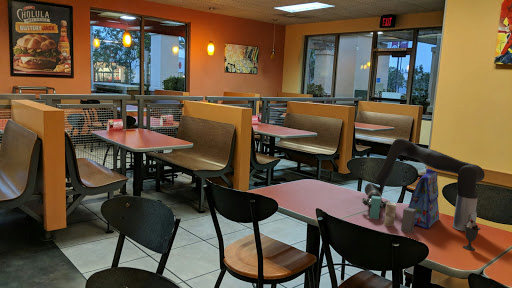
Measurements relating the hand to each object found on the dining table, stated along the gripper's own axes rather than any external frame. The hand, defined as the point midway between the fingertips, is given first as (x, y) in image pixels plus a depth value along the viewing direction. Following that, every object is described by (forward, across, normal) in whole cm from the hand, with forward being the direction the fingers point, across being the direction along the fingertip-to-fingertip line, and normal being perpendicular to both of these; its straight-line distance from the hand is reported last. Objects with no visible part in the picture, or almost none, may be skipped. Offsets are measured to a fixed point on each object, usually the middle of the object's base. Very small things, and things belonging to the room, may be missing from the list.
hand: (375, 206), depth 215 cm
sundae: (+24, +40, +7) cm, 47 cm away
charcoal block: (+12, +15, +7) cm, 20 cm away
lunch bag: (-7, +24, +7) cm, 26 cm away
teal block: (-3, 0, +6) cm, 7 cm away
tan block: (+6, +7, +7) cm, 11 cm away
